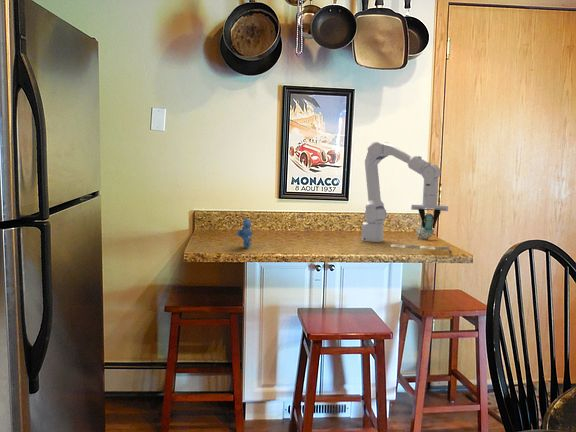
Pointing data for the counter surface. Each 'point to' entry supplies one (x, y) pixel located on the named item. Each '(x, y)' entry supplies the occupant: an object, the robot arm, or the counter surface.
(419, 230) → the grey spiky ball
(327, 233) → the counter surface
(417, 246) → the board
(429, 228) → the pawn
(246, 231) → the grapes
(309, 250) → the counter surface
